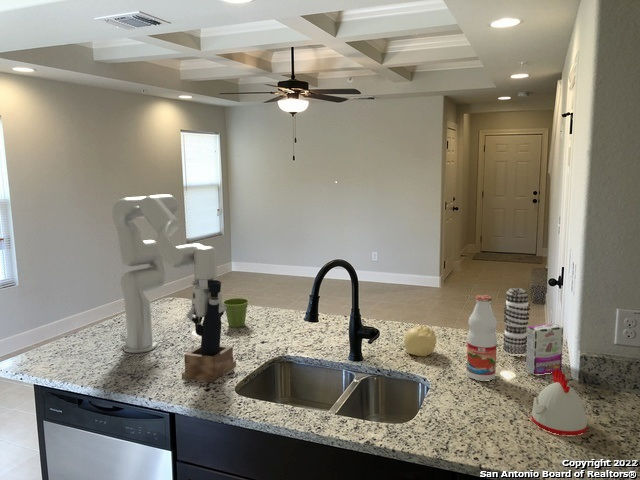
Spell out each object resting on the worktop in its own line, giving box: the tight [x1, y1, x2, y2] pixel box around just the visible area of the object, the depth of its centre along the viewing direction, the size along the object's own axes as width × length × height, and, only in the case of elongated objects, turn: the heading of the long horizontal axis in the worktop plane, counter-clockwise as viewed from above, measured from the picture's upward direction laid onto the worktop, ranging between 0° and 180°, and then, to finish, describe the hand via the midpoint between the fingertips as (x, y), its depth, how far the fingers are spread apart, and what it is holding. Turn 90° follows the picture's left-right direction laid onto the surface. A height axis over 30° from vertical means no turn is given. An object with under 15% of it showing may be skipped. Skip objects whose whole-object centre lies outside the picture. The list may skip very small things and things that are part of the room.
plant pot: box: [222, 297, 250, 328], centre depth 231 cm, size 12×12×11 cm
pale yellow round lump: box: [403, 324, 437, 357], centre depth 194 cm, size 12×12×11 cm
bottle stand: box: [181, 344, 237, 383], centre depth 180 cm, size 12×16×8 cm
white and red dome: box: [531, 369, 588, 435], centre depth 140 cm, size 14×14×15 cm
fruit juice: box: [466, 294, 498, 380], centre depth 171 cm, size 9×9×28 cm
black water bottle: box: [200, 279, 222, 356], centre depth 175 cm, size 6×6×30 cm
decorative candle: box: [502, 287, 531, 354], centre depth 193 cm, size 9×9×25 cm
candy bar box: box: [525, 323, 564, 374], centre depth 175 cm, size 11×5×16 cm, turn 105°
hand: (208, 332), depth 178 cm, fingers closed on black water bottle, 6 cm apart
